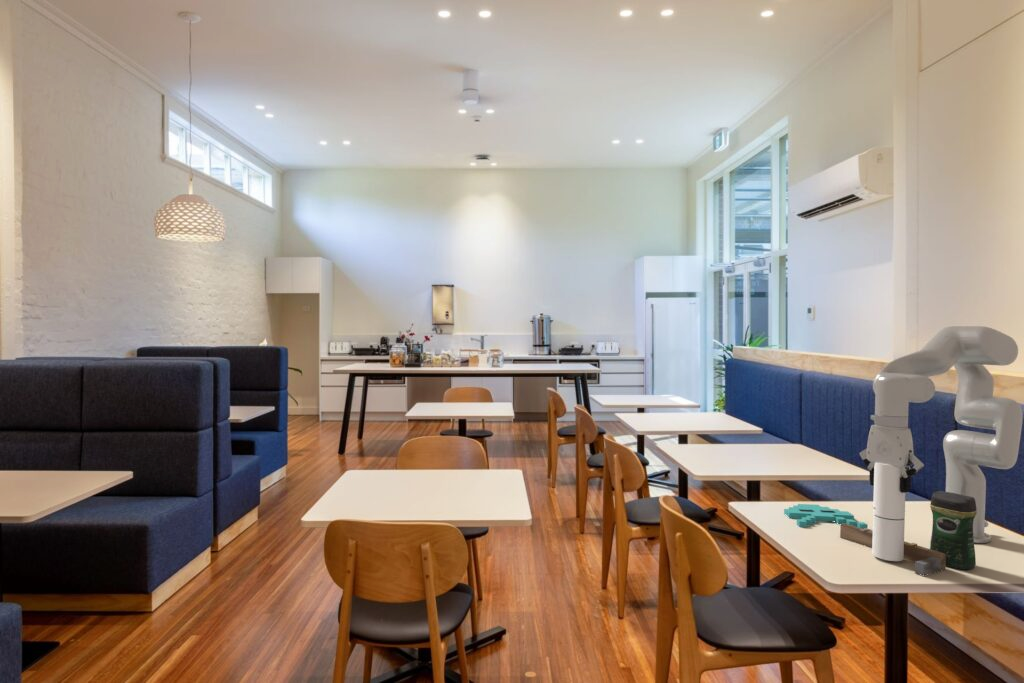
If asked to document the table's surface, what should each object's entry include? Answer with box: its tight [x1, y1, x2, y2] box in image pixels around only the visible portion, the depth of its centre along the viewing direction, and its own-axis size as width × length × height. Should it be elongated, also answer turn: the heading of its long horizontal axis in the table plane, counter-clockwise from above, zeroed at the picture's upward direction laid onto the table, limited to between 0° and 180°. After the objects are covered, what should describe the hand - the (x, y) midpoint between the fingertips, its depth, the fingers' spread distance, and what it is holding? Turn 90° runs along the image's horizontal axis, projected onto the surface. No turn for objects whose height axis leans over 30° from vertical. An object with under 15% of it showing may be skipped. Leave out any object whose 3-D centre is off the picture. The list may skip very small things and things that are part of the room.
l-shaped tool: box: [839, 523, 947, 576], centre depth 163 cm, size 10×27×4 cm, turn 28°
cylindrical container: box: [871, 462, 906, 562], centre depth 160 cm, size 7×7×25 cm
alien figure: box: [783, 503, 869, 529], centre depth 195 cm, size 20×2×20 cm
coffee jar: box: [929, 490, 977, 570], centre depth 158 cm, size 10×8×19 cm
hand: (889, 487), depth 160 cm, fingers closed on cylindrical container, 7 cm apart
